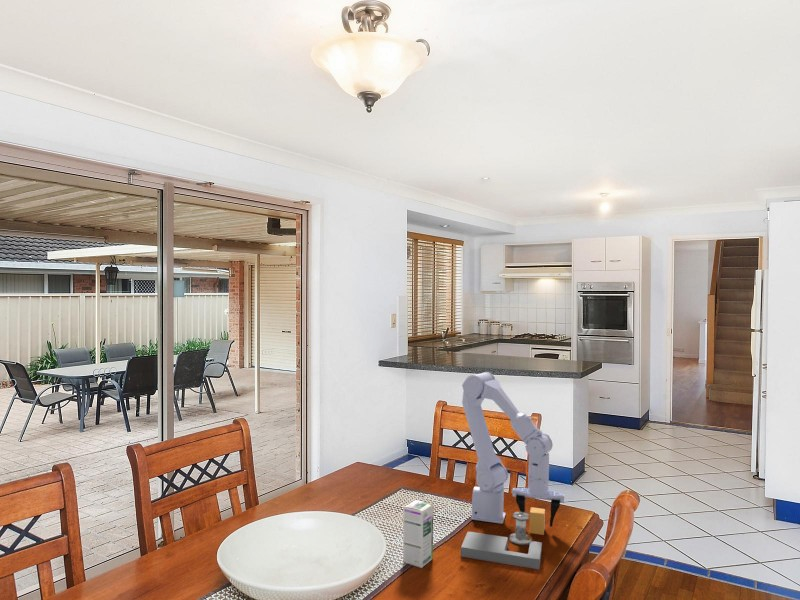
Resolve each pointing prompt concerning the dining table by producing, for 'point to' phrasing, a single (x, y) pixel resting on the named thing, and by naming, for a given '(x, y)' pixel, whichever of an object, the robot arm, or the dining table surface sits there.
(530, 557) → the board
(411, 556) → the syrup box
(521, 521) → the bobbin post
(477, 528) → the dining table surface
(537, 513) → the tab block
